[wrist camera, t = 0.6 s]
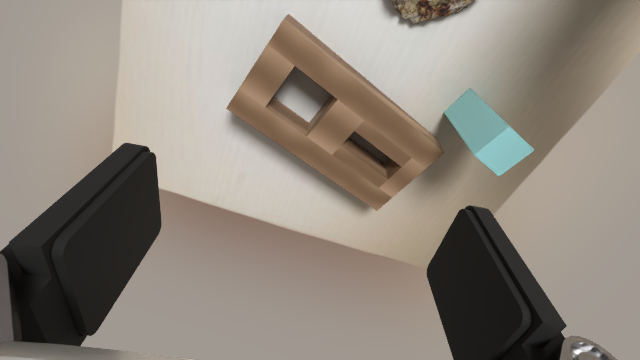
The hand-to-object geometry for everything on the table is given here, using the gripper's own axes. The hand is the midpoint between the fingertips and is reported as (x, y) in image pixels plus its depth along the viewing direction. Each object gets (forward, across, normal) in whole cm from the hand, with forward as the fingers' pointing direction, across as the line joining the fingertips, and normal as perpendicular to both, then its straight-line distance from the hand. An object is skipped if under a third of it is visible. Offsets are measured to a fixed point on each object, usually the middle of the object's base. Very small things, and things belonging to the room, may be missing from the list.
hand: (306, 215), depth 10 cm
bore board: (+32, -4, +9) cm, 34 cm away
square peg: (+32, -20, +5) cm, 38 cm away
